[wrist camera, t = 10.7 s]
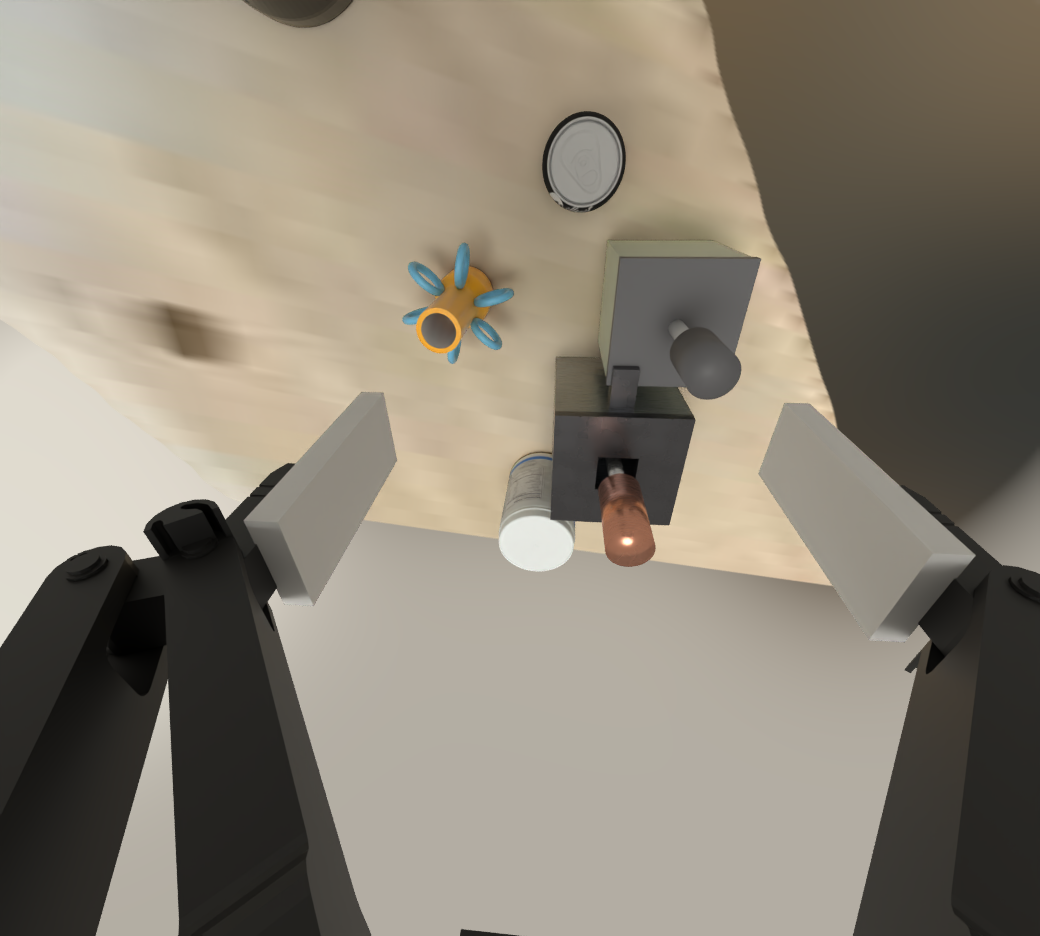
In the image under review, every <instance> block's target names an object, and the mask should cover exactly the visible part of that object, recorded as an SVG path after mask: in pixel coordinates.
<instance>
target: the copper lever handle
mask: <svg viewBox="0 0 1040 936" xmlns="http://www.w3.org/2000/svg"><path fill="white" fill-rule="evenodd" d="M606 465H607V471H608V477H607V478H605V479H604V480H603V481H602V482H601V484H600V485H599V489H598V494H599V502H600V510H601V519H602V527H603V535H604V544H605V552H606V555H607V557H608V558H609V560H610V561H612V562H613V563H615V564H617V565H620V566H626V567H632V566H638V565H641V564H643V563H645V562H647V561H648V560H650V559H651V558H652V556H653V555H654V553H655V549H656V548H655V542H654V538H653V535H652V531H651V527H650V523H649V519H648V515H647V511H646V507H645V503H644V500H643V496H642V492H641V488H640V484H639V482H638V481H637V480H636V479H635V478H634V477H633V476H631V475H628V474H624V470H623V466H622V461H621V458H606Z"/></svg>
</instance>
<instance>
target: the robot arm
mask: <svg viewBox="0 0 1040 936" xmlns="http://www.w3.org/2000/svg"><path fill="white" fill-rule="evenodd" d="M243 1H244V2H245V3H247V4H248V5H249V6H251V7H252V8H254V9H255V10H257V11H259V12H261V13H263V14H264V15H266V16H268V17H270V18H272V19H274V20H276V21H278V22H280V23H283V24H286V25H290V26H295V27H313V26H318V25H321V24H324V23H326V22H329V21H330V20H332V19H334V18H335V17H337V16H338V15H339V14H340V13H341V12H342V11H344V10H345V8H346V7H347V6H348V5H349V4H350V2H351V1H352V0H243ZM396 461H397V458H396V453H395V448H394V443H393V438H392V433H391V428H390V423H389V418H388V413H387V408H386V403H385V398H384V393H381V392H361V393H360V394H359V395H358V396H357V397H356V399H355V400H354V401H353V402H352V403H351V404H350V405H349V406H348V407H347V408H346V409H345V411H344V412H343V413H342V414H341V415H340V416H339V417H338V418H337V419H336V420H335V421H334V423H333V424H332V425H331V426H330V427H329V428H328V429H327V430H326V431H325V432H324V433H323V435H322V436H321V437H320V438H319V439H318V440H317V441H316V442H315V443H314V444H313V445H312V446H311V448H310V449H309V450H308V451H307V452H306V453H305V454H304V455H303V456H302V457H301V458H300V460H299V461H298V462H297V463H296V464H292V463H287V464H286V465H284V466H282V467H280V468H279V469H277V470H275V471H274V472H272V473H270V475H269V476H268V477H267V478H266V479H265V480H264V481H263V482H262V483H261V484H260V485H259V487H257V488H256V489H255V490H254V491H253V492H252V493H251V494H250V497H247V498H246V499H245V500H244V501H243V502H242V503H241V504H240V505H239V507H237V509H236V510H234V512H233V513H232V514H231V515H230V516H229V517H228V518H227V519H226V520H225V518H224V516H223V515H222V513H221V511H220V509H219V507H218V505H217V504H216V503H215V502H213V501H210V500H206V499H205V500H192V501H187V502H182V503H179V504H177V505H174V506H172V507H169V508H167V509H165V510H163V511H162V512H160V513H159V514H157V515H155V516H154V517H153V518H152V519H151V520H150V521H149V522H148V523H147V524H146V527H145V529H144V531H143V532H144V533H145V535H146V536H147V538H148V539H149V541H150V542H151V544H152V545H153V547H154V548H155V550H156V551H157V553H158V554H159V556H157V557H151V558H146V559H140V560H134V561H132V560H131V558H130V557H129V555H128V554H127V553H126V551H125V550H123V548H122V547H117V546H112V545H111V546H103V547H97V548H94V549H91V550H87V551H83V552H81V553H78V555H74V556H72V557H70V558H69V559H67V560H66V561H65V562H63V563H62V564H60V565H59V566H57V567H56V568H55V569H54V570H53V571H52V572H51V573H50V574H49V575H48V577H47V578H46V579H45V581H44V582H43V584H42V585H41V587H40V588H39V590H38V591H37V593H36V594H35V596H34V597H33V599H32V600H31V602H30V603H29V605H28V606H27V608H26V610H25V611H24V612H23V614H22V616H21V617H20V619H19V620H18V622H17V623H16V625H15V626H14V628H13V629H12V631H11V632H10V634H9V635H8V637H7V638H6V640H5V641H4V643H3V644H2V646H1V647H0V936H95V935H96V932H97V928H98V925H99V921H100V918H101V914H102V910H103V907H104V903H105V900H106V896H107V892H108V889H109V886H110V882H111V878H112V875H113V872H114V868H115V864H116V861H117V857H118V854H119V850H120V847H121V843H122V839H123V836H124V833H125V829H126V825H127V822H128V818H129V815H130V811H131V807H132V804H133V801H134V797H135V793H136V790H137V786H138V783H139V779H140V776H141V772H142V769H143V765H144V762H145V758H146V754H147V751H148V747H149V743H150V740H151V737H152V733H153V730H154V726H155V723H156V719H157V715H158V712H159V708H160V705H161V701H162V698H163V694H164V691H165V687H166V684H167V680H168V685H169V708H170V730H171V752H172V774H173V796H174V816H175V817H174V819H175V839H176V840H175V841H176V863H177V884H178V907H179V935H178V936H371V933H370V931H369V928H368V926H367V923H366V921H365V919H364V916H363V914H362V912H361V910H360V907H359V904H358V901H357V898H356V895H355V892H354V889H353V885H352V882H351V879H350V875H349V872H348V869H347V865H346V862H345V858H344V855H343V851H342V848H341V845H340V841H339V838H338V834H337V831H336V828H335V824H334V821H333V817H332V814H331V810H330V807H329V804H328V800H327V797H326V793H325V790H324V787H323V783H322V780H321V776H320V773H319V769H318V766H317V763H316V759H315V756H314V753H313V749H312V746H311V742H310V739H309V735H308V732H307V729H306V725H305V722H304V718H303V715H302V712H301V708H300V705H299V701H298V698H297V694H296V691H295V688H294V684H293V681H292V678H291V674H290V671H289V667H288V664H287V660H286V657H285V653H284V650H283V647H282V643H281V640H280V637H279V633H278V630H277V626H276V623H275V619H274V616H273V613H272V610H271V608H270V606H269V604H268V600H269V599H270V597H271V596H272V594H273V593H274V591H275V590H276V589H277V591H278V593H279V595H280V597H281V599H282V601H283V603H284V604H287V605H303V606H314V605H315V603H316V601H317V599H318V598H319V596H320V594H321V592H322V591H323V589H324V587H325V585H326V584H327V581H328V580H329V578H330V577H331V575H332V573H333V571H334V570H335V568H336V566H337V564H338V563H339V561H340V559H341V557H342V556H343V554H344V552H345V550H346V549H347V547H348V545H349V543H350V542H351V540H352V538H353V537H354V535H355V533H356V531H357V530H358V528H359V526H360V524H361V522H362V521H363V519H364V517H365V516H366V514H367V512H368V510H369V509H370V507H371V505H372V503H373V502H374V500H375V498H376V496H377V495H378V493H379V491H380V489H381V488H382V486H383V484H384V482H385V481H386V479H387V477H388V475H389V474H390V472H391V470H392V468H393V467H394V465H395V463H396ZM758 474H759V475H760V477H761V479H762V480H763V482H764V483H765V485H766V486H767V488H768V489H769V491H770V492H771V494H772V495H773V497H774V498H775V500H776V501H777V503H778V504H779V506H780V507H781V509H782V510H783V512H784V513H785V515H786V516H787V518H788V519H789V521H790V522H791V524H792V525H793V527H794V528H795V530H796V531H797V533H798V534H799V536H800V537H801V539H802V540H803V542H804V543H805V545H806V546H807V548H808V549H809V551H810V552H811V554H812V555H813V557H814V558H815V560H816V561H817V563H818V564H819V566H820V567H821V569H822V570H823V572H824V573H825V575H826V576H827V578H828V579H829V581H830V582H831V584H832V585H833V587H834V588H835V590H836V591H837V592H838V594H839V596H840V597H841V599H842V600H843V602H844V603H845V605H846V606H847V608H848V609H849V611H850V612H851V614H852V615H853V617H854V618H855V620H856V621H857V623H858V624H859V626H860V627H861V629H862V630H863V632H864V633H865V635H866V636H867V638H868V639H869V640H877V641H893V642H905V641H906V640H907V638H908V637H909V636H910V635H911V634H912V632H913V631H914V630H915V629H916V628H917V626H918V625H920V627H921V628H922V629H923V630H924V632H925V633H926V634H927V635H928V637H929V638H930V641H929V642H928V643H927V644H926V645H925V646H924V648H923V649H922V650H921V651H920V652H919V653H918V654H917V655H916V657H915V658H914V659H913V660H912V661H911V663H909V665H908V666H907V667H906V668H905V670H906V671H908V672H909V673H911V672H912V671H913V670H914V669H915V668H917V672H916V676H915V680H914V684H913V689H912V693H911V697H910V701H909V705H908V709H907V713H906V718H905V722H904V726H903V730H902V734H901V738H900V742H899V746H898V751H897V755H896V759H895V763H894V767H893V771H892V776H891V780H890V784H889V788H888V792H887V796H886V800H885V805H884V809H883V813H882V817H881V821H880V825H879V830H878V834H877V838H876V842H875V846H874V850H873V854H872V859H871V863H870V867H869V871H868V875H867V879H866V884H865V888H864V892H863V896H862V900H861V904H860V909H859V913H858V917H857V921H856V925H855V929H854V933H853V936H1040V574H1038V573H1036V572H1033V571H1029V570H1026V569H1023V568H1019V567H1013V566H1004V565H1003V566H1002V565H1001V564H1000V563H999V562H998V561H997V560H995V559H994V558H993V557H992V556H991V555H990V554H989V553H987V552H986V551H985V550H984V549H983V548H982V547H981V546H980V545H978V544H977V543H976V542H975V541H974V540H973V539H972V538H970V537H969V536H968V535H967V534H966V533H965V532H964V531H962V530H961V529H960V528H959V527H957V526H954V523H953V522H952V521H951V520H950V519H949V518H948V517H947V516H945V515H942V514H941V511H940V510H939V509H938V508H936V507H935V506H934V505H933V504H932V503H931V502H929V501H928V500H927V499H926V498H925V497H923V496H921V495H919V494H917V493H916V492H914V491H912V490H910V489H908V488H907V487H905V486H903V485H898V484H897V483H896V482H895V481H894V480H893V479H892V478H890V477H889V476H888V475H887V474H886V473H885V472H884V471H883V470H882V469H881V468H880V467H878V466H877V465H876V464H875V463H874V462H873V461H872V460H871V459H870V458H869V457H867V456H866V455H865V454H864V453H863V452H862V451H861V450H860V449H859V448H858V447H857V446H855V445H854V444H853V443H852V442H851V441H850V440H849V439H848V438H847V437H846V436H845V435H843V434H842V433H841V432H840V431H839V430H838V429H837V428H836V427H835V426H834V425H832V424H831V423H830V422H829V421H828V420H827V419H826V418H825V417H824V416H823V415H822V414H820V413H819V412H818V411H817V410H816V409H815V408H814V407H813V406H812V405H811V404H806V403H784V406H783V408H782V411H781V414H780V417H779V419H778V422H777V425H776V427H775V430H774V433H773V436H772V438H771V441H770V444H769V446H768V449H767V452H766V454H765V457H764V460H763V463H762V465H761V468H760V471H759V473H758ZM460 936H517V935H508V934H499V933H490V932H481V931H472V930H463V929H462V930H461V933H460Z"/></svg>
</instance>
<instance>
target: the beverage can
mask: <svg viewBox="0 0 1040 936" xmlns="http://www.w3.org/2000/svg"><path fill="white" fill-rule="evenodd" d="M625 162H626V153H625V146H624V142H623V139H622V136H621V134H620V132H619V130H618V129H617V127H616V126H615V125H614V123H613V122H612V121H611V120H610V119H608V118H607V117H605V116H604V115H602V114H599V113H596V112H591V111H584V112H579V113H575V114H573V115H571V116H569V117H567V118H566V119H564V120H563V121H562V122H561V123H560V124H559V125H558V126H557V127H556V128H555V129H554V131H553V132H552V134H551V135H550V137H549V139H548V141H547V144H546V147H545V150H544V154H543V162H542V170H543V178H544V182H545V185H546V188H547V190H548V192H549V194H550V195H551V197H552V198H553V199H554V200H555V201H556V202H557V203H558V204H559V205H560V206H561V207H563V208H565V209H567V210H569V211H573V212H588V211H592V210H595V209H597V208H599V207H600V206H602V205H603V204H605V203H606V202H607V201H608V200H609V199H610V198H611V197H612V196H613V194H614V193H615V192H616V190H617V188H618V187H619V185H620V182H621V180H622V177H623V174H624V170H625Z"/></svg>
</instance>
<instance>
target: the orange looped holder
mask: <svg viewBox="0 0 1040 936" xmlns="http://www.w3.org/2000/svg"><path fill="white" fill-rule="evenodd" d="M469 260H470V250H469V246H468V244H466V243H462V244H461V245H460V246H459V249H458V252H457V256H456V262H455V269H454V270H452V271H451V272H450V273H448V274H447V275H446V276H445V277H444V278H443V279H442V280H441V281H440V279H439V278H438V277H437V276H436V275H435V274H434V273H433V272H432V271H431V270H430V269H428V268H427V267H426V266H424V265H422V264H420V263H418V262H411V263H409V265H408V270H409V273H410V275H411V276H412V278H413V279H414V280H415V281H416V282H417V284H419V285H420V286H421V287H422V288H423V289H424V290H426V291H427V292H429V293H431V294H433V295H435V301H434V302H433V303H432V304H431V305H430V306H429V307H424V308H421V309H418V310H415V311H412V312H410V313H408V314H406V315H405V316H404V317H403V319H402V320H403V322H404V323H405V324H407V325H412V324H416V331H417V335H418V338H419V340H420V341H421V343H422V344H423V345H424V346H425V347H426V348H427V349H429V350H431V351H433V352H436V353H447V352H448V361H449V362H450V363H451V364H454V363H455V362H456V361H457V359H458V356H459V352H460V346H461V339H462V337H463V335H464V334H465V332H466V331H467V329H468V328H471V329H472V331H473V332H474V334H475V335H476V336H477V338H478V339H479V340H480V341H481V342H482V343H484V344H485V345H486V346H488V347H489V348H491V349H494V350H498V349H500V348H501V347H502V341H501V338H500V337H499V335H498V334H497V332H496V331H495V330H494V329H493V328H492V327H491V326H490V325H489V324H488V323H486V322H485V321H483V320H484V318H485V317H486V315H487V313H488V311H489V309H490V307H491V306H493V305H496V304H500V303H502V302H505V301H507V300H509V299H510V298H512V297H513V295H514V292H513V290H512V289H510V288H503V289H497V290H493V289H492V285H491V283H490V281H489V279H488V278H487V276H486V275H485V274H484V273H483V272H482V271H480V270H479V269H477V268H474V267H471V266H469ZM418 271H419V272H421V273H422V274H424V275H425V276H426V277H428V278H429V279H430V280H431V281H432V282H433V284H434V285H435V286H436V287H434V286H433V285H431V284H430V283H428V282H427V281H426V280H425V279H424V278H423V277H422V276H421V275H420V274H419V273H418ZM478 326H479V327H481V328H483V329H484V330H485V331H486V332H487V333H488V334H489V335H490V336H491V337H492V339H493V340H494V341H492V340H491V339H489V338H488V337H487V336H486V335H485V334H484V333H483V332H482V331H481V330H480V328H479V327H478Z"/></svg>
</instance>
